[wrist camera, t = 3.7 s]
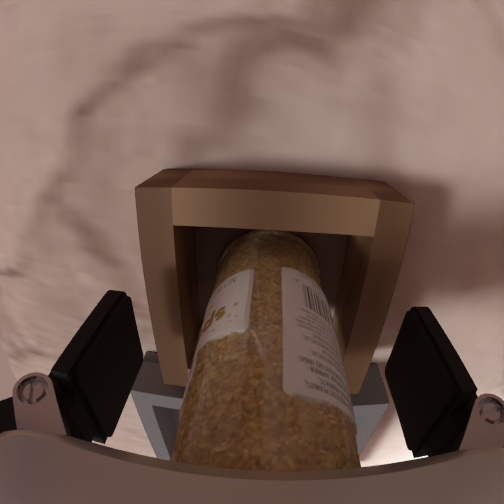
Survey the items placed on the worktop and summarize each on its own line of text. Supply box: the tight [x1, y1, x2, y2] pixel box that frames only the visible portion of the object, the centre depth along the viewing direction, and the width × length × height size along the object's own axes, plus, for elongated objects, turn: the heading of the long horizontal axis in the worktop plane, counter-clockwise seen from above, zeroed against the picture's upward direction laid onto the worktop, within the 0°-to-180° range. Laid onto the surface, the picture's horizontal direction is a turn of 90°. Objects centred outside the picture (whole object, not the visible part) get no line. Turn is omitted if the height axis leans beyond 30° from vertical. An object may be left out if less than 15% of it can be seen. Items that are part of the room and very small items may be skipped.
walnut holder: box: [135, 169, 414, 394], centre depth 13 cm, size 9×9×3 cm
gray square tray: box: [130, 351, 390, 461], centre depth 18 cm, size 13×13×3 cm
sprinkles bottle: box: [170, 229, 361, 471], centre depth 8 cm, size 5×5×14 cm
